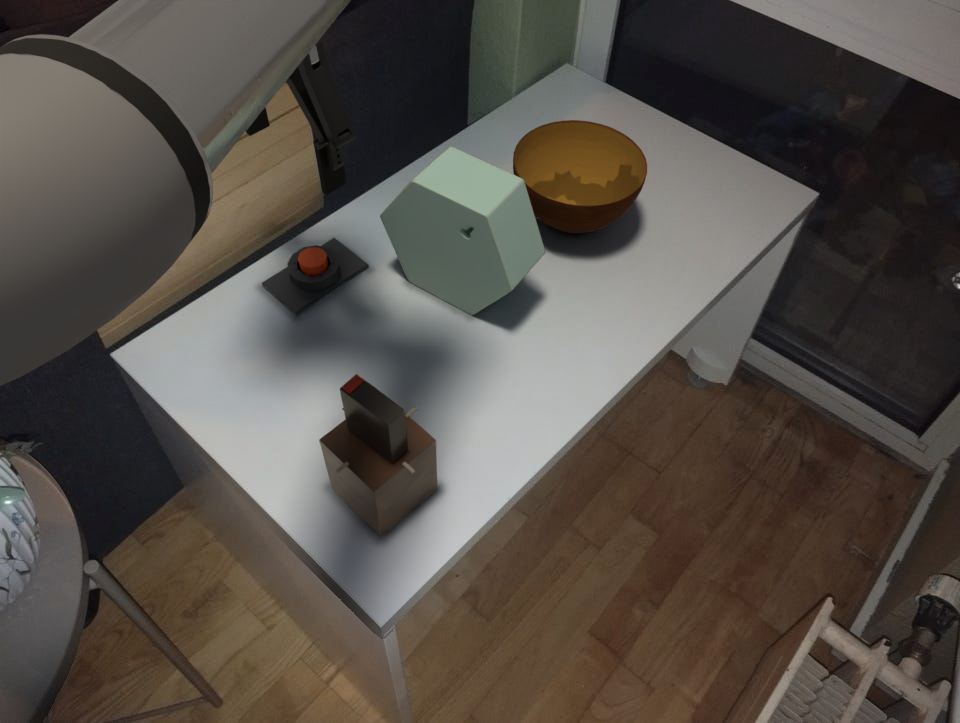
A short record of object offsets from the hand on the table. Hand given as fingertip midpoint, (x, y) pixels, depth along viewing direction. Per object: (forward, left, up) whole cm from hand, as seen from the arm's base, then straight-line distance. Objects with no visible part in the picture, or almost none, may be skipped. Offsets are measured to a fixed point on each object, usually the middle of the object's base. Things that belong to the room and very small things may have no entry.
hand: (295, 157), depth 84 cm
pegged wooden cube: (-14, -29, -20) cm, 37 cm away
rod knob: (-14, -29, -10) cm, 33 cm away
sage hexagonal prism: (+13, -13, -20) cm, 27 cm away
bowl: (+33, -15, -20) cm, 41 cm away
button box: (0, +1, -20) cm, 20 cm away
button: (0, +1, -17) cm, 18 cm away
